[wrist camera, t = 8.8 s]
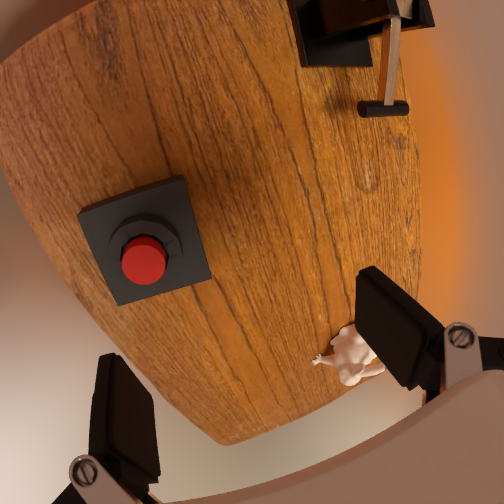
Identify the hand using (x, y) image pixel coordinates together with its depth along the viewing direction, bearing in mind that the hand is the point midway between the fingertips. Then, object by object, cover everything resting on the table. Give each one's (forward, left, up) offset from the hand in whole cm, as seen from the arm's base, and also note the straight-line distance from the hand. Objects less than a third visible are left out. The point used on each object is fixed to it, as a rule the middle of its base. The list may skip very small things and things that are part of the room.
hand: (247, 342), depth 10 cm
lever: (+16, +12, -11) cm, 23 cm away
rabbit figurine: (+15, -25, -19) cm, 35 cm away
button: (-6, -2, -15) cm, 16 cm away
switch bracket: (+16, +16, -18) cm, 29 cm away
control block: (-6, -2, -18) cm, 19 cm away
